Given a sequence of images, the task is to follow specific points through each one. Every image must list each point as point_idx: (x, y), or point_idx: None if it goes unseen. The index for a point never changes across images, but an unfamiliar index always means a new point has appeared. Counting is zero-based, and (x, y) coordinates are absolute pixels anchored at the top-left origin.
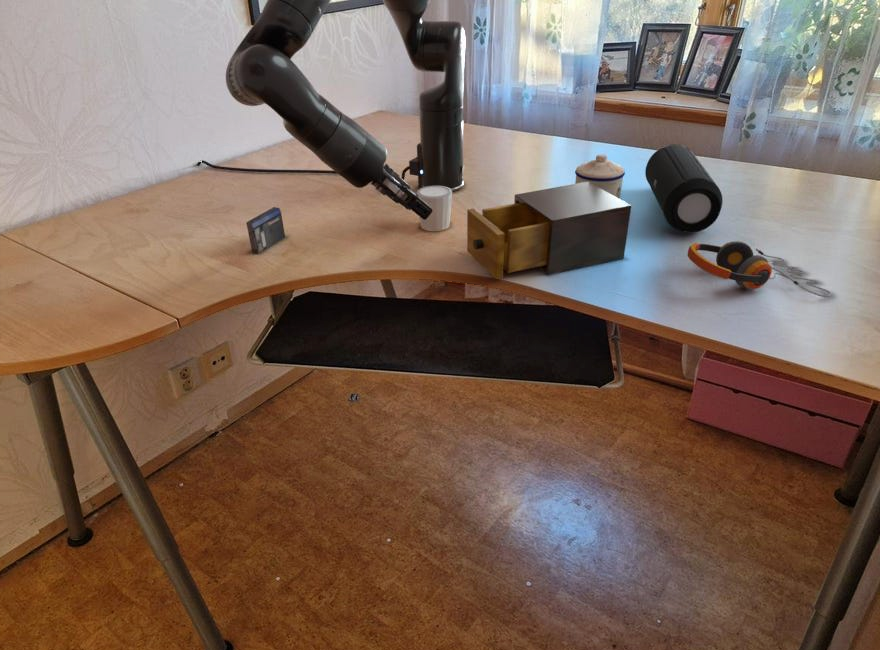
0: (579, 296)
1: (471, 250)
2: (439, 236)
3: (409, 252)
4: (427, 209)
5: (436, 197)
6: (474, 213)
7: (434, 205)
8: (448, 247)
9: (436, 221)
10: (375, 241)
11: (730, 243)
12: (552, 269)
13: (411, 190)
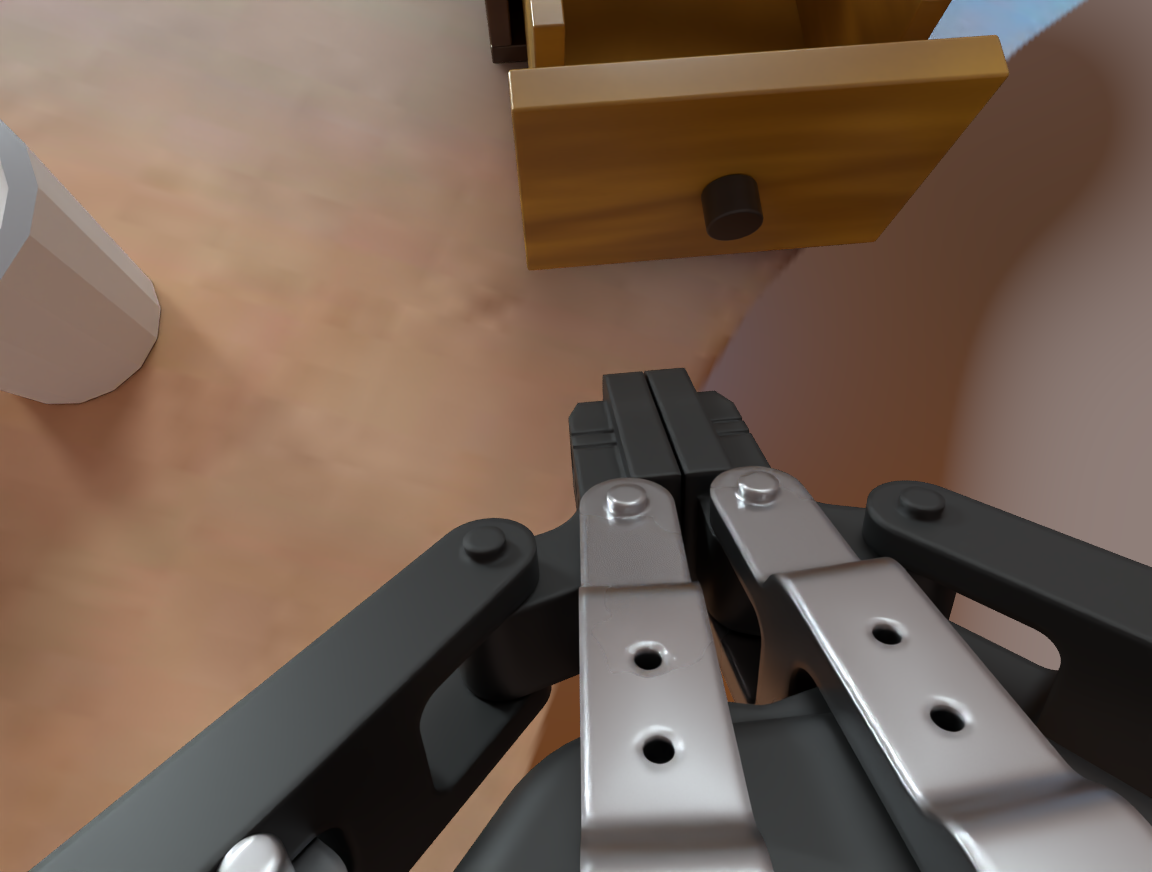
0: (1036, 8)
1: (585, 252)
2: (230, 343)
3: (364, 557)
4: (735, 415)
5: (19, 230)
6: (605, 91)
7: (56, 274)
8: (390, 339)
9: (126, 314)
10: (114, 727)
11: None
12: None
13: (638, 511)
